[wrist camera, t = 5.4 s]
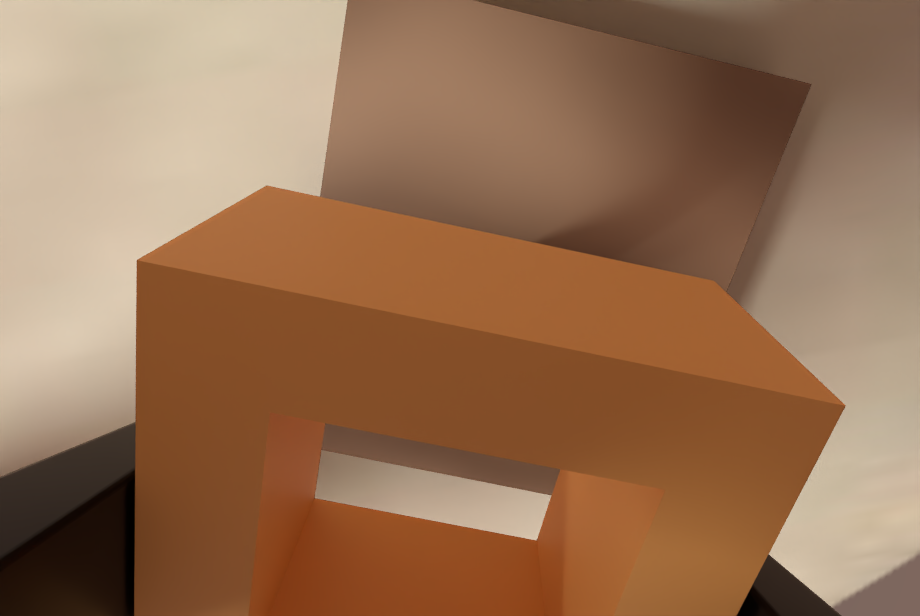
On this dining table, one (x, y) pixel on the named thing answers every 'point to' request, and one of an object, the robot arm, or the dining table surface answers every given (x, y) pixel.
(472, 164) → the brown peg board
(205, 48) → the dining table surface
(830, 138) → the dining table surface
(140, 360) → the orange square ring
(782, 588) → the robot arm
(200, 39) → the dining table surface
